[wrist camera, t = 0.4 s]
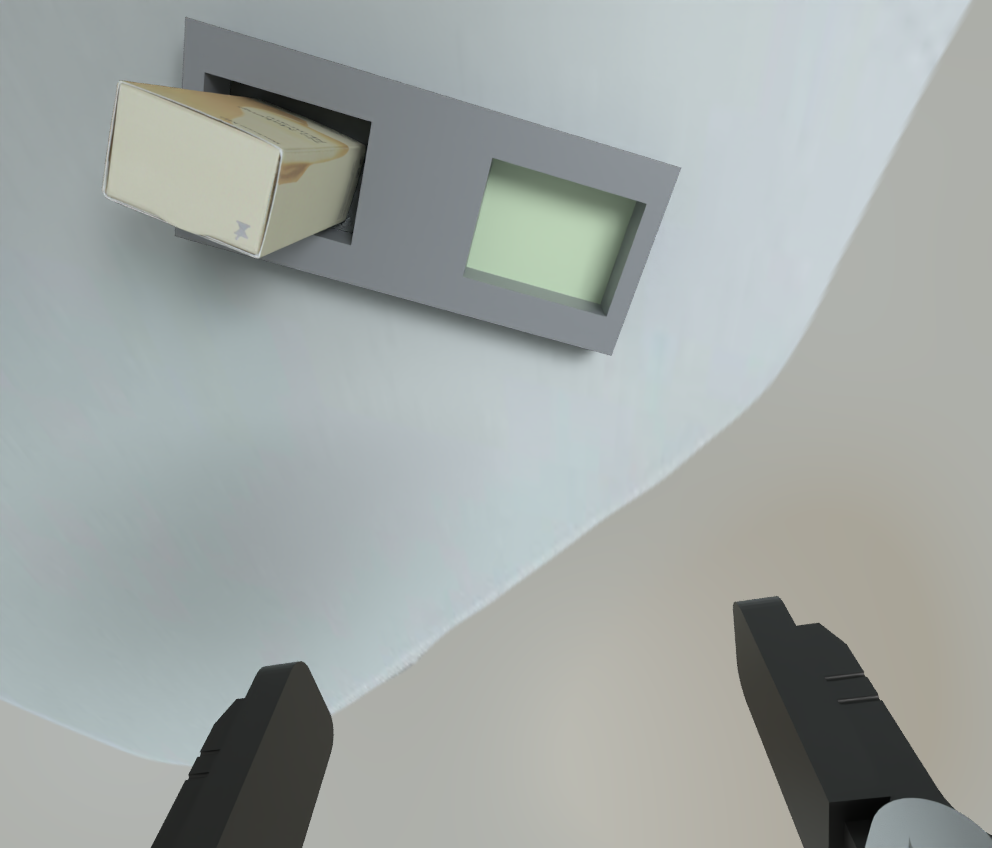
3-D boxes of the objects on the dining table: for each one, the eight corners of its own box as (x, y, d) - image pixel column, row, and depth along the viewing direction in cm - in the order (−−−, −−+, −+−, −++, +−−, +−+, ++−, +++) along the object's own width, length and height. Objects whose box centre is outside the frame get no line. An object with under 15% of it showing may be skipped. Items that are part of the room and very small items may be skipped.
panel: (214, 27, 31) (185, 16, 28) (667, 164, 33) (681, 167, 30) (201, 228, 35) (175, 236, 32) (604, 339, 37) (611, 355, 34)
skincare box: (369, 144, 33) (294, 150, 22) (346, 223, 35) (266, 265, 24) (251, 93, 32) (111, 72, 21) (234, 176, 34) (96, 198, 23)
